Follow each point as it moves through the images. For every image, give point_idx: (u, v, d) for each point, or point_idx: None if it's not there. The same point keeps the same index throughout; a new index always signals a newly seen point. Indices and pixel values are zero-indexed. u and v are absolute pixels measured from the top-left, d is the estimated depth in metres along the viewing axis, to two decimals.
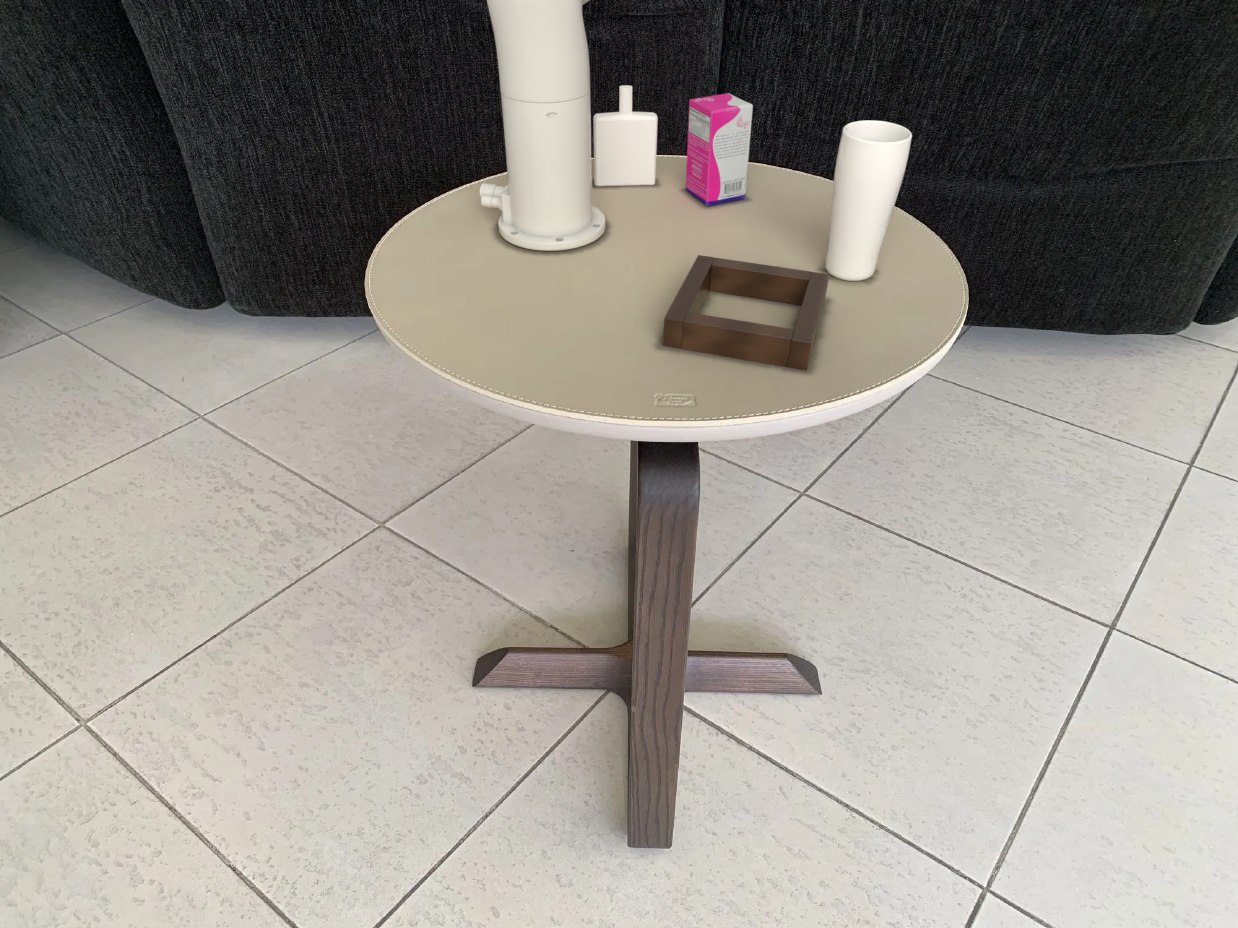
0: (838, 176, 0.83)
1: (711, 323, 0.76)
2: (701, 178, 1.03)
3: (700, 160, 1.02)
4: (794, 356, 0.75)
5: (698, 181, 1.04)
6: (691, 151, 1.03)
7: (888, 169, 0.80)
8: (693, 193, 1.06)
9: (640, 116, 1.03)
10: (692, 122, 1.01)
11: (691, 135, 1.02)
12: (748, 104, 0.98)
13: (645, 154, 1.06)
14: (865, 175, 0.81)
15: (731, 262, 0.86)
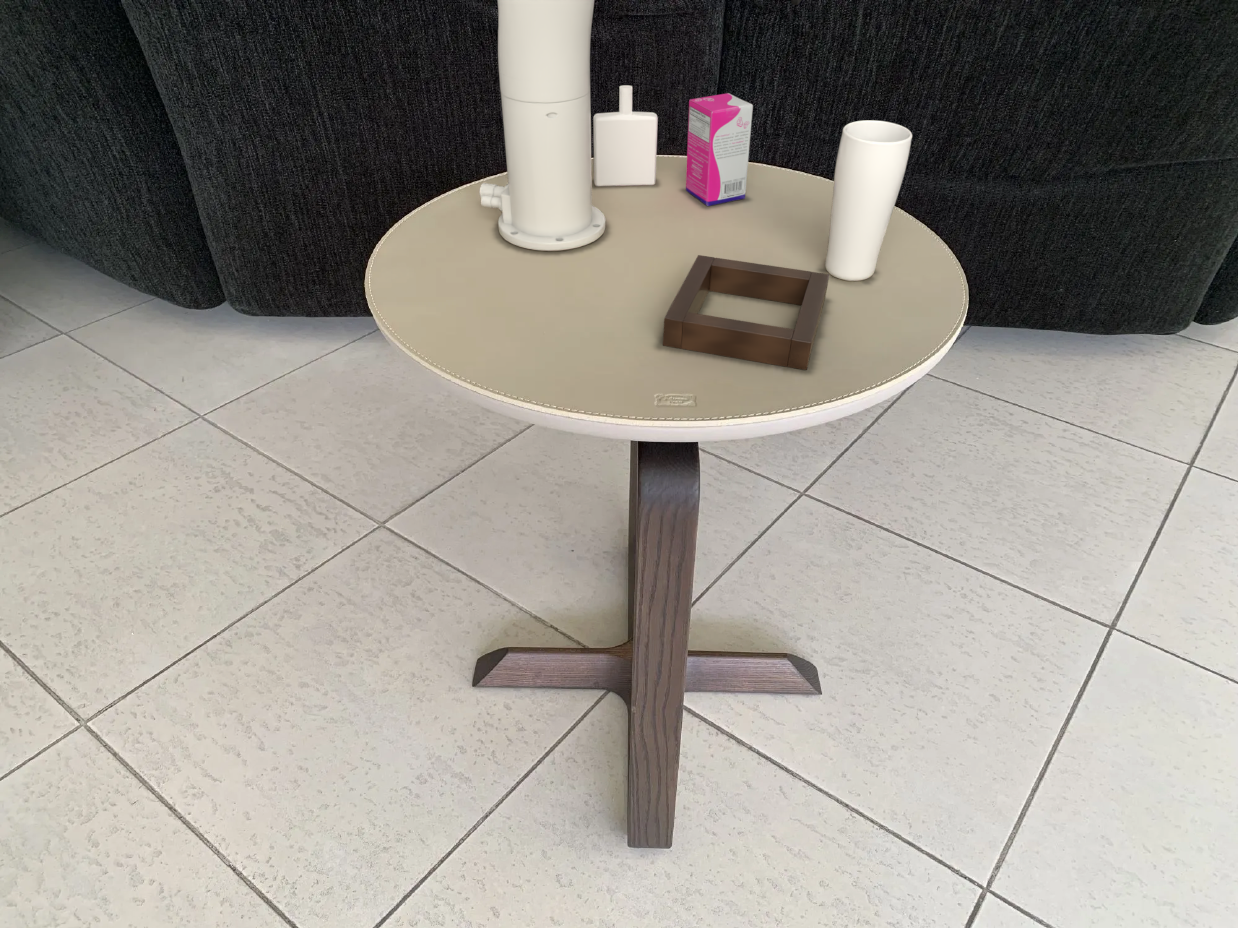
0: (838, 176, 0.83)
1: (711, 323, 0.76)
2: (701, 178, 1.03)
3: (700, 160, 1.02)
4: (794, 356, 0.75)
5: (698, 181, 1.04)
6: (691, 151, 1.03)
7: (888, 169, 0.80)
8: (693, 193, 1.06)
9: (640, 116, 1.03)
10: (692, 122, 1.01)
11: (691, 135, 1.02)
12: (748, 104, 0.98)
13: (645, 154, 1.06)
14: (865, 175, 0.81)
15: (731, 262, 0.86)
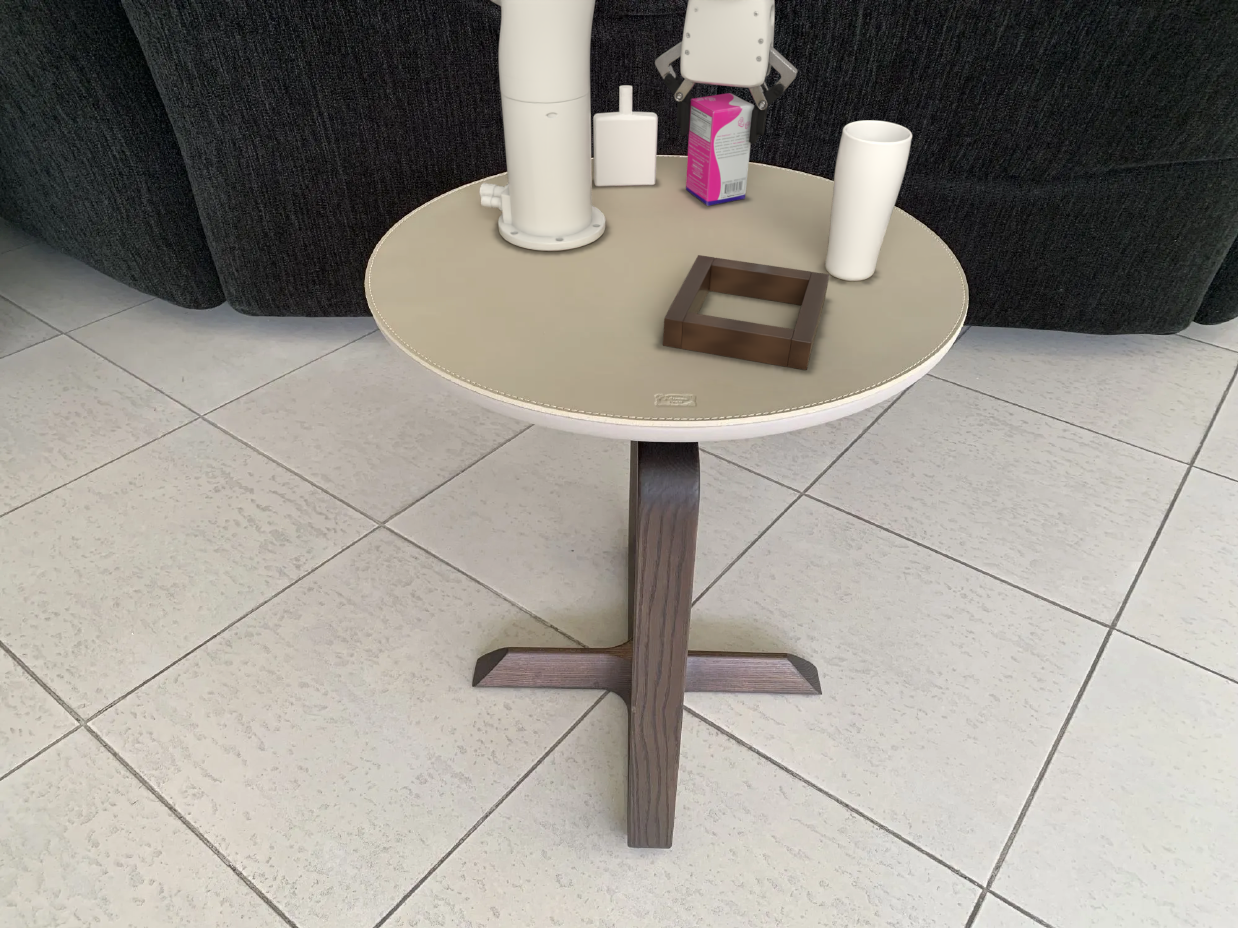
0: (838, 176, 0.83)
1: (711, 323, 0.76)
2: (701, 178, 1.03)
3: (701, 160, 1.02)
4: (794, 356, 0.75)
5: (698, 180, 1.04)
6: (692, 151, 1.03)
7: (888, 169, 0.80)
8: (693, 192, 1.06)
9: (640, 116, 1.03)
10: (693, 121, 1.01)
11: (692, 134, 1.02)
12: (750, 104, 0.98)
13: (645, 154, 1.06)
14: (865, 175, 0.81)
15: (731, 262, 0.86)
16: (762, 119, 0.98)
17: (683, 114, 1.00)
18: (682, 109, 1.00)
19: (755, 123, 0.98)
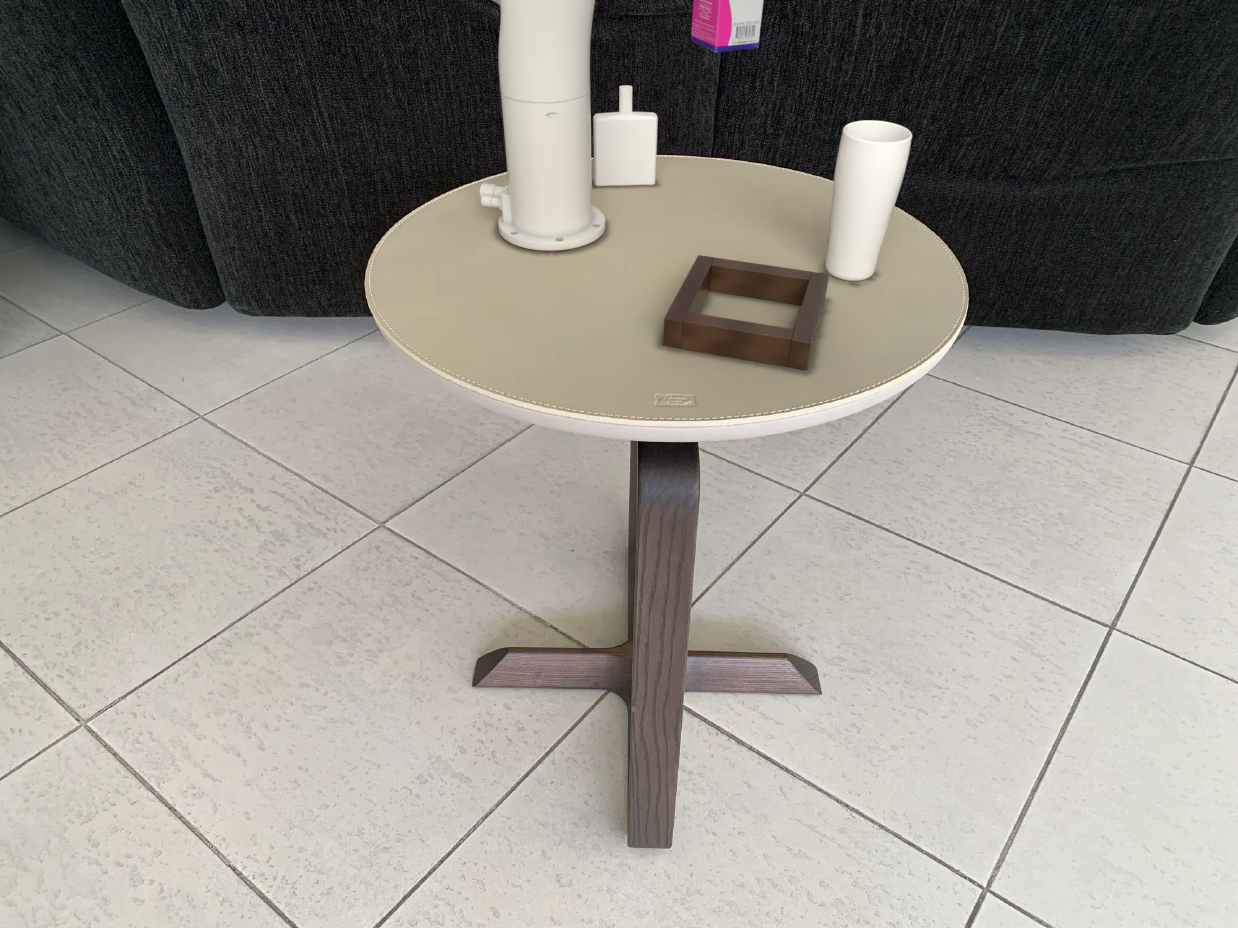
0: (838, 176, 0.83)
1: (711, 323, 0.76)
2: (710, 19, 0.90)
3: None
4: (794, 356, 0.75)
5: (706, 23, 0.91)
6: None
7: (888, 169, 0.80)
8: (700, 40, 0.93)
9: (640, 116, 1.03)
10: None
11: None
12: None
13: (645, 154, 1.06)
14: (865, 175, 0.81)
15: (731, 262, 0.86)
16: None
17: None
18: None
19: None
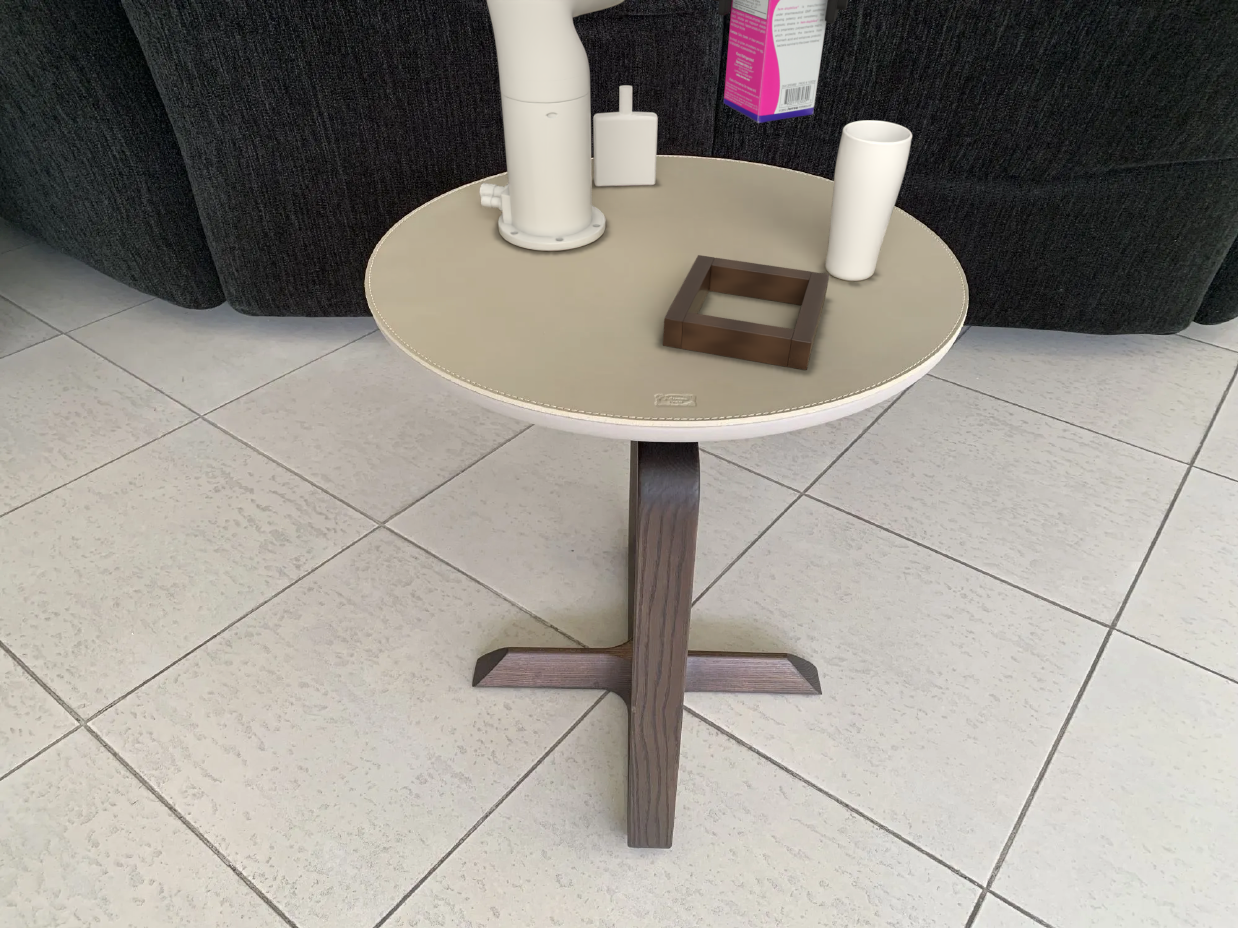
0: (838, 176, 0.83)
1: (711, 323, 0.76)
2: (750, 80, 0.68)
3: (750, 51, 0.67)
4: (794, 356, 0.75)
5: (745, 85, 0.69)
6: (736, 39, 0.68)
7: (888, 169, 0.80)
8: (736, 105, 0.71)
9: (640, 116, 1.03)
10: None
11: (736, 13, 0.67)
12: None
13: (645, 154, 1.06)
14: (865, 175, 0.81)
15: (731, 262, 0.86)
16: None
17: None
18: None
19: None
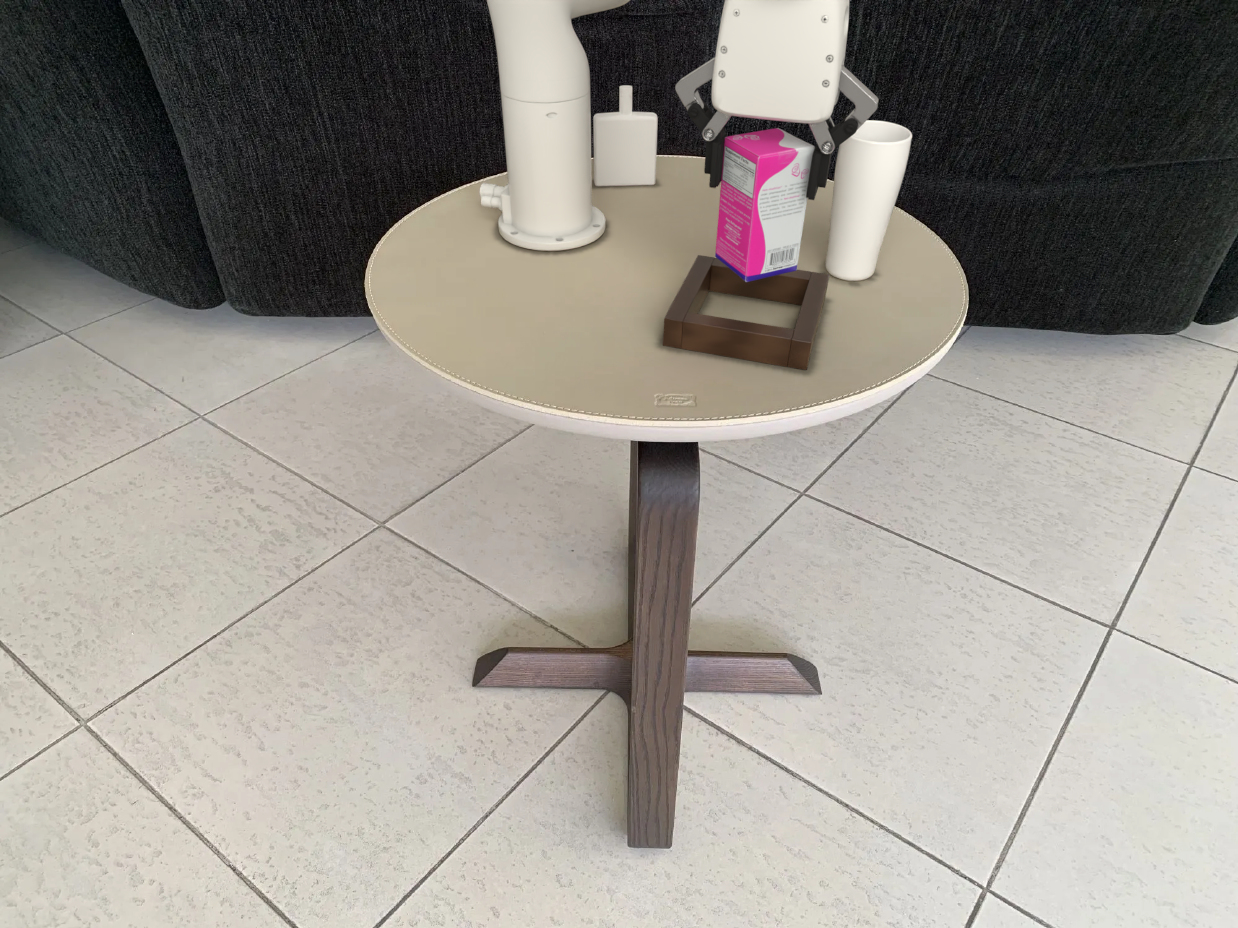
0: (838, 176, 0.83)
1: (711, 323, 0.76)
2: (739, 244, 0.74)
3: (738, 220, 0.73)
4: (794, 356, 0.75)
5: (734, 247, 0.75)
6: (726, 207, 0.75)
7: (888, 169, 0.80)
8: (726, 262, 0.77)
9: (640, 116, 1.03)
10: (728, 168, 0.73)
11: (726, 185, 0.74)
12: (808, 145, 0.70)
13: (645, 154, 1.06)
14: (865, 175, 0.81)
15: None
16: (826, 166, 0.70)
17: (714, 159, 0.72)
18: (713, 152, 0.71)
19: (816, 172, 0.70)
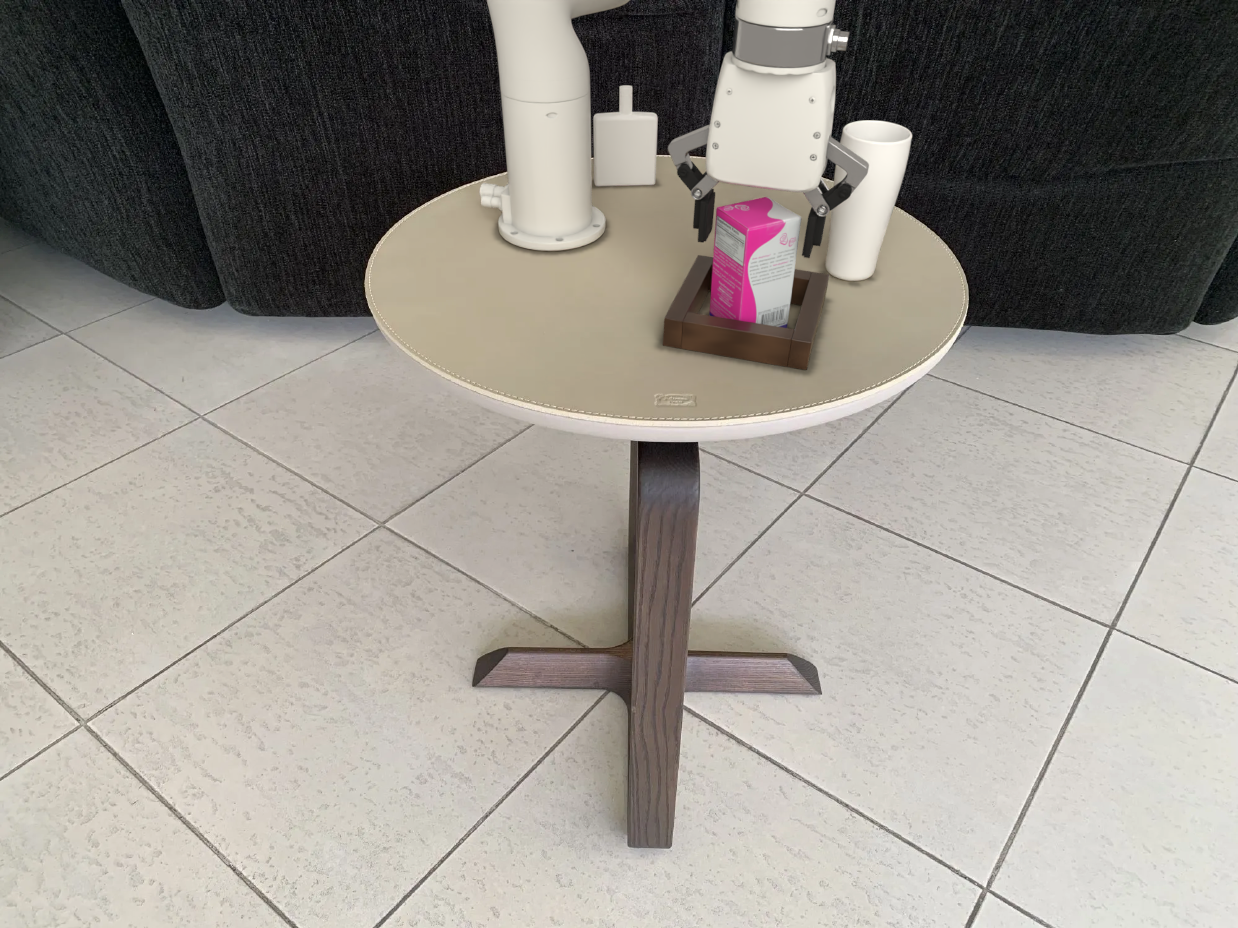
0: (838, 176, 0.83)
1: (711, 323, 0.76)
2: (731, 307, 0.79)
3: (730, 285, 0.78)
4: (794, 356, 0.75)
5: (727, 309, 0.79)
6: (718, 271, 0.79)
7: (888, 169, 0.80)
8: None
9: (640, 116, 1.03)
10: (720, 236, 0.77)
11: (718, 251, 0.78)
12: (795, 216, 0.74)
13: (645, 154, 1.06)
14: None
15: None
16: (821, 227, 0.73)
17: (702, 216, 0.75)
18: (701, 210, 0.75)
19: (812, 233, 0.73)
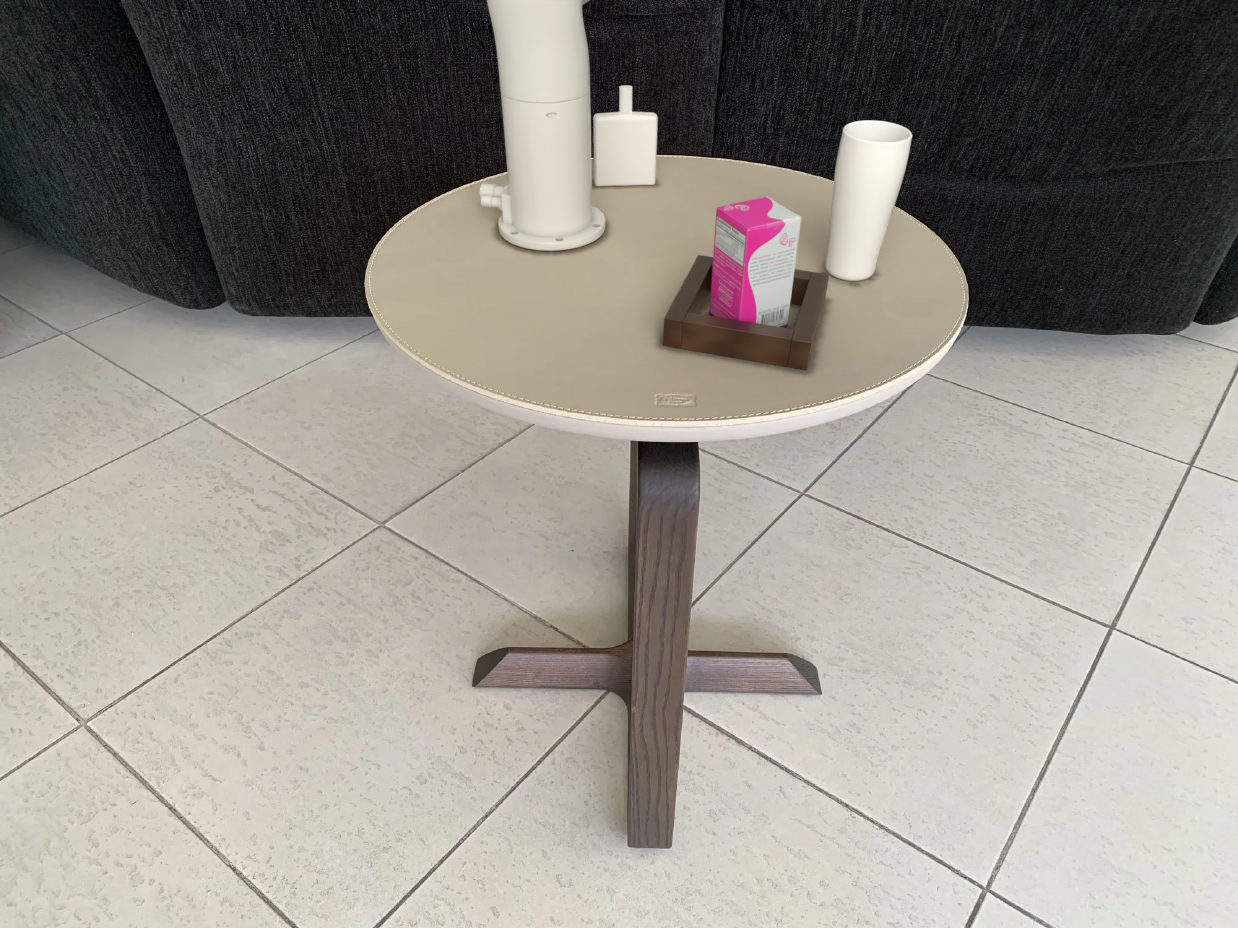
0: (838, 176, 0.83)
1: (711, 323, 0.76)
2: (731, 307, 0.79)
3: (730, 285, 0.78)
4: (794, 356, 0.75)
5: (727, 309, 0.79)
6: (718, 271, 0.79)
7: (888, 169, 0.80)
8: None
9: (640, 116, 1.03)
10: (720, 236, 0.77)
11: (718, 251, 0.78)
12: (795, 216, 0.74)
13: (645, 154, 1.06)
14: (865, 175, 0.81)
15: None
16: None
17: None
18: None
19: None
